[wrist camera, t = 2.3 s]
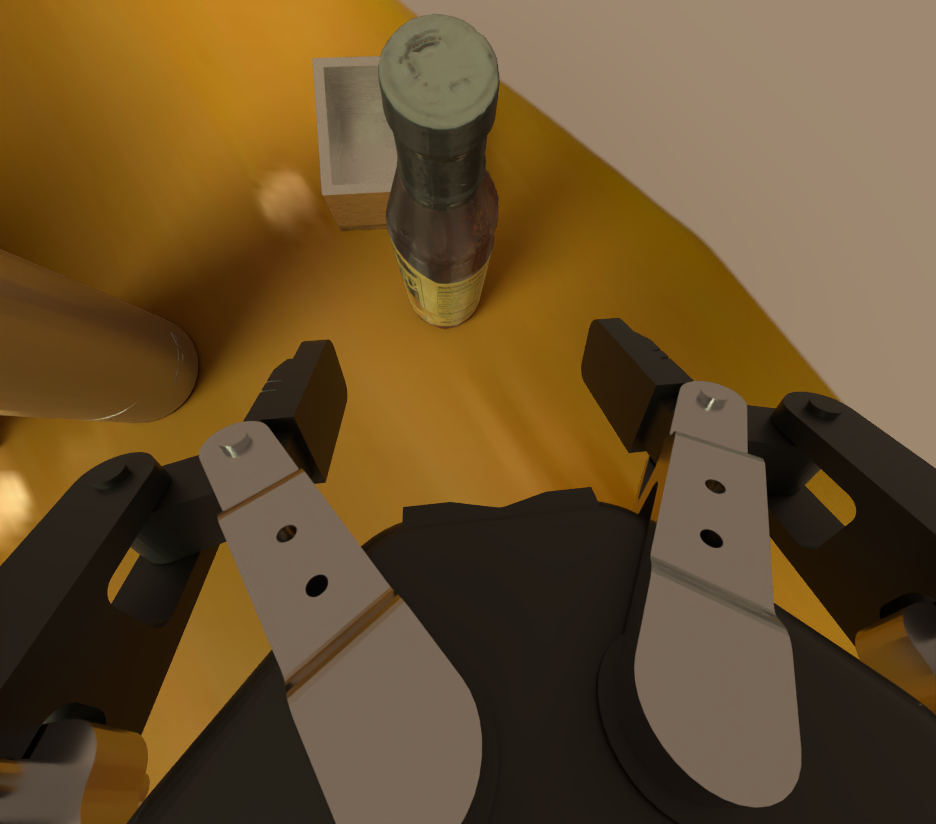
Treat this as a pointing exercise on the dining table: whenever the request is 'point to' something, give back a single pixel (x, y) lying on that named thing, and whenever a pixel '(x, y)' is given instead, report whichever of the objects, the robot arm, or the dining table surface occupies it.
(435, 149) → the sauce bottle
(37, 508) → the dining table surface
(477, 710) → the robot arm
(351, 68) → the tray
